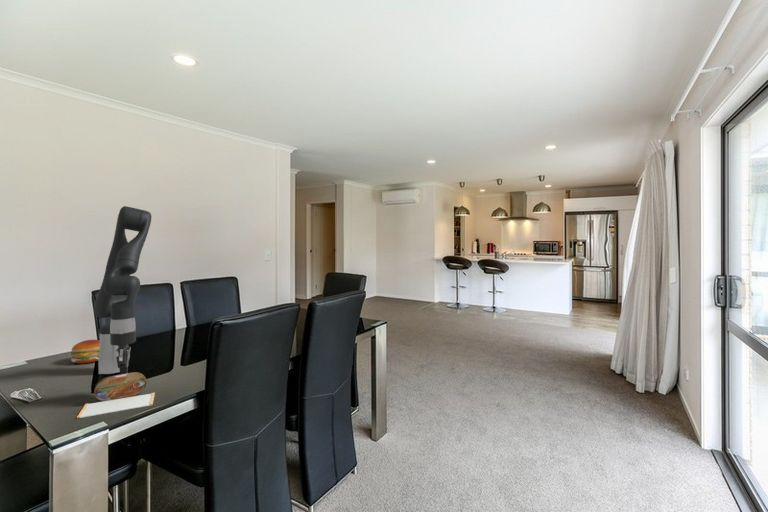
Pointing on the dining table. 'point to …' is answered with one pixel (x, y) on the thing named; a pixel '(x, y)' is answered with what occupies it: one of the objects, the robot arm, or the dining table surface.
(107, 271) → the robot arm
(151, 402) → the mat
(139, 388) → the tin
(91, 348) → the burger
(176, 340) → the dining table surface
